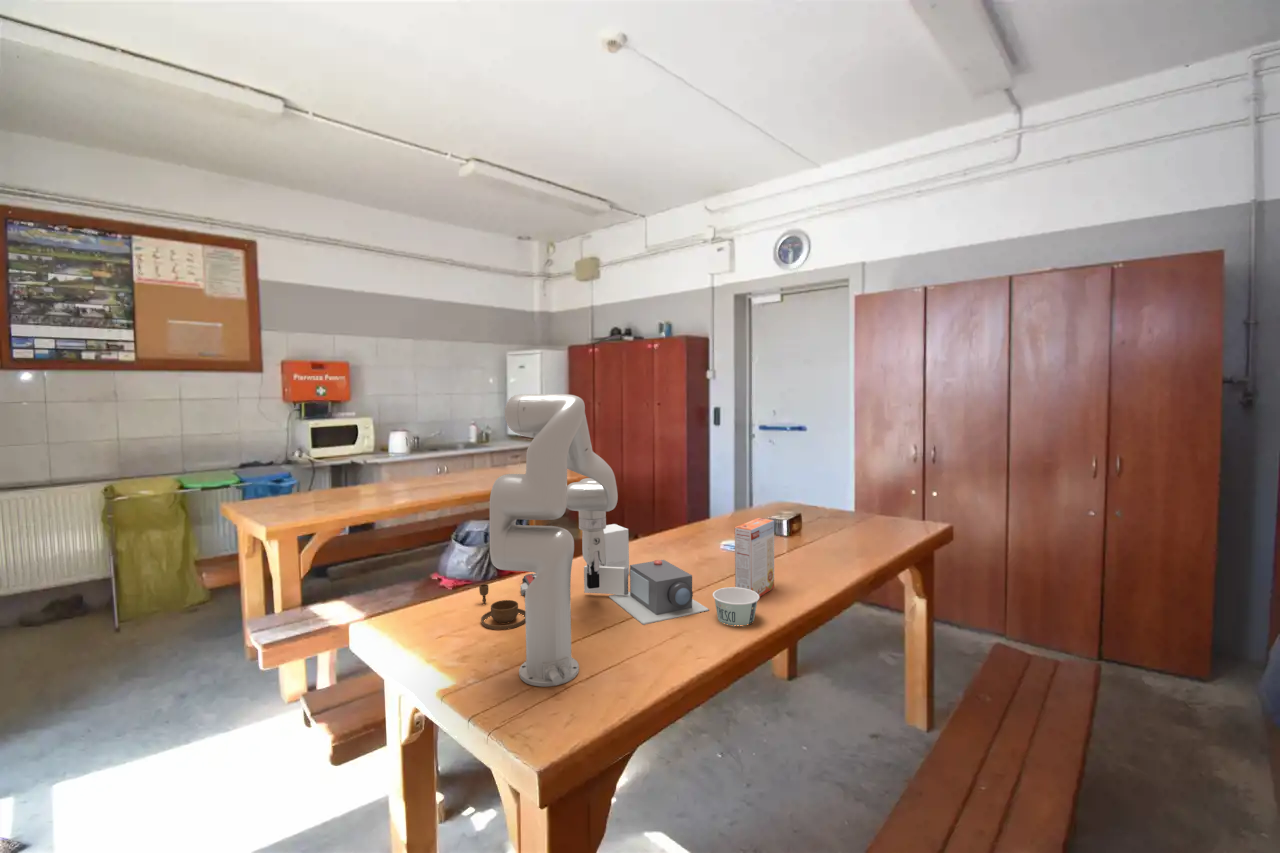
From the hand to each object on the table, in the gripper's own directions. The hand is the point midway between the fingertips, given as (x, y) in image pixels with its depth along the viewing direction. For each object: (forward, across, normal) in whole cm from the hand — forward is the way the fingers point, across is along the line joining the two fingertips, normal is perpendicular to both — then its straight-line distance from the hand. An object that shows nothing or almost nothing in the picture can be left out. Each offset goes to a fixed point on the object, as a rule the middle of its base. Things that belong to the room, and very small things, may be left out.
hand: (593, 587), depth 166 cm
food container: (+5, -23, -33) cm, 40 cm away
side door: (+3, +3, -5) cm, 7 cm away
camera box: (+4, -6, -18) cm, 19 cm away
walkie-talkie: (+5, +14, +14) cm, 21 cm away
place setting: (+5, -1, +24) cm, 25 cm away
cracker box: (+5, -7, -46) cm, 47 cm away
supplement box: (+5, +23, -11) cm, 26 cm away
